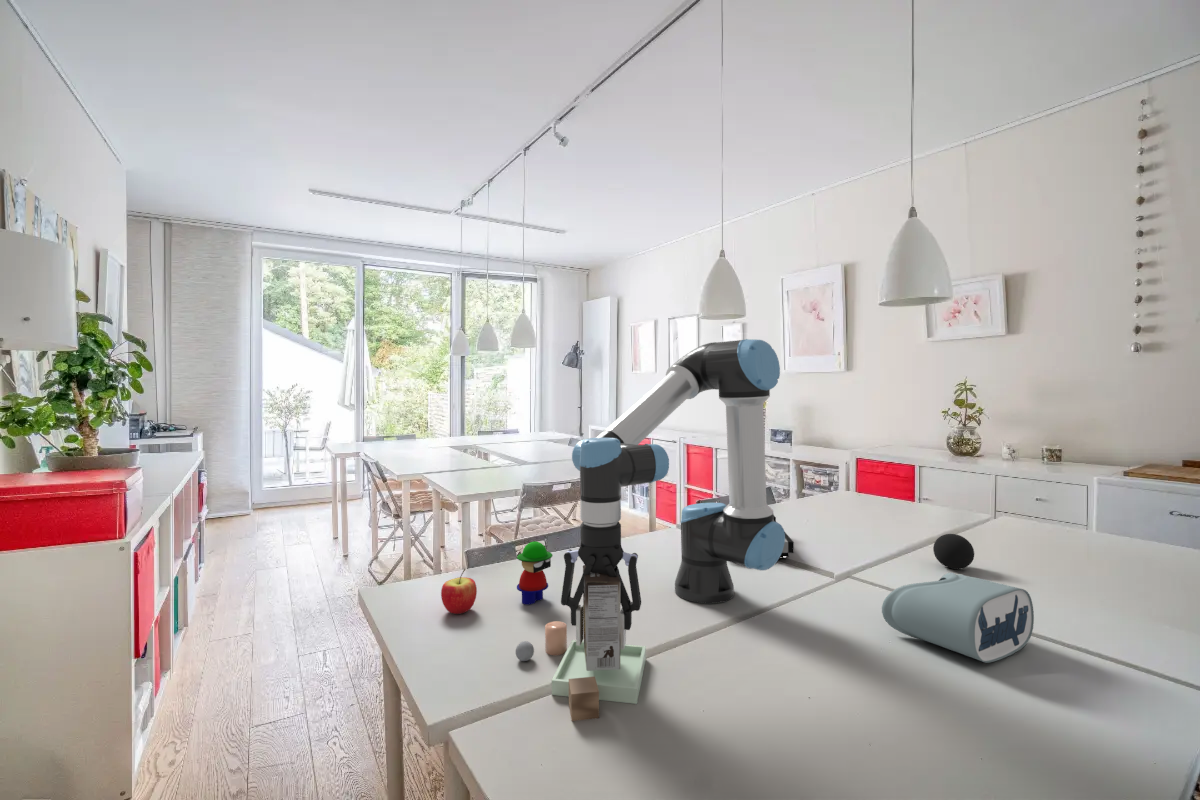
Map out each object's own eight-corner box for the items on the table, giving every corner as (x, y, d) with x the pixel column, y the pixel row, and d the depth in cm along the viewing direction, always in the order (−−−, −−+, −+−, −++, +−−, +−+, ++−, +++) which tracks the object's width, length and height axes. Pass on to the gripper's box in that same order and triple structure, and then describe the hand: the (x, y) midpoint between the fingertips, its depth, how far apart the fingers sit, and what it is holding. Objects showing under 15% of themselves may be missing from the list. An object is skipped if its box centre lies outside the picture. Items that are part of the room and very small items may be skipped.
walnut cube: (594, 702, 91) (594, 676, 90) (599, 718, 86) (598, 691, 86) (568, 705, 90) (568, 678, 90) (571, 721, 85) (571, 694, 85)
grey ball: (536, 656, 106) (536, 638, 106) (530, 665, 102) (530, 647, 102) (519, 654, 107) (519, 637, 107) (513, 663, 103) (512, 645, 103)
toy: (543, 591, 140) (542, 535, 139) (559, 602, 132) (558, 542, 132) (511, 599, 135) (510, 540, 134) (526, 610, 128) (525, 549, 127)
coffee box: (582, 646, 103) (582, 564, 102) (615, 645, 103) (615, 563, 103) (585, 671, 94) (584, 581, 93) (621, 670, 94) (621, 580, 94)
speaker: (973, 566, 157) (973, 532, 157) (975, 576, 148) (975, 541, 148) (933, 560, 162) (933, 528, 162) (933, 570, 154) (933, 535, 153)
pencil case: (975, 673, 98) (972, 604, 98) (880, 636, 115) (878, 577, 115) (1035, 646, 108) (1032, 583, 109) (940, 615, 125) (937, 561, 125)
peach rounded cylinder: (569, 645, 110) (568, 622, 110) (563, 656, 106) (563, 631, 106) (548, 644, 111) (548, 620, 111) (542, 654, 107) (542, 630, 107)
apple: (484, 610, 128) (483, 569, 128) (453, 622, 122) (452, 579, 121) (465, 601, 133) (464, 562, 133) (434, 612, 127) (433, 571, 127)
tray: (645, 659, 105) (645, 646, 105) (636, 703, 90) (636, 688, 90) (572, 652, 107) (572, 639, 107) (551, 694, 93) (551, 680, 93)
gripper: (657, 519, 100) (657, 639, 100) (553, 514, 104) (553, 630, 104) (653, 529, 92) (654, 659, 93) (541, 524, 96) (542, 648, 97)
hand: (601, 643), depth 98 cm, fingers closed on coffee box, 7 cm apart
